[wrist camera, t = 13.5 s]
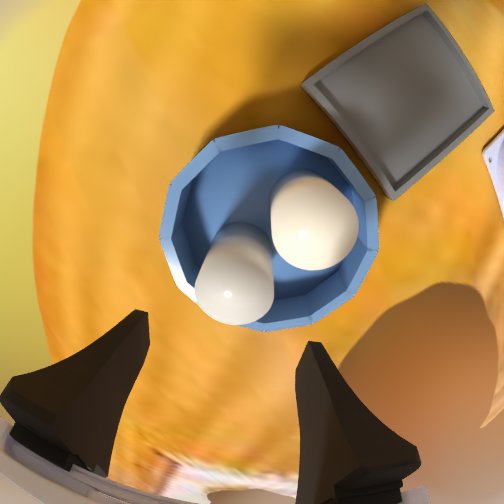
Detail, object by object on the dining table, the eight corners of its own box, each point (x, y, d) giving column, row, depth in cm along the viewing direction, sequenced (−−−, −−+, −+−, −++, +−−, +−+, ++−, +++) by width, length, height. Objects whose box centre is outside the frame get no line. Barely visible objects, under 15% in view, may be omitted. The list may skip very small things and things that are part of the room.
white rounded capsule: (343, 181, 18) (371, 203, 13) (321, 238, 20) (338, 278, 15) (280, 160, 17) (287, 174, 12) (261, 221, 19) (260, 257, 14)
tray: (485, 110, 15) (494, 110, 13) (386, 196, 19) (393, 201, 18) (418, 7, 12) (426, 3, 11) (299, 85, 16) (302, 83, 15)
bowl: (392, 233, 20) (411, 252, 17) (262, 327, 24) (261, 355, 21) (278, 87, 16) (281, 79, 13) (143, 218, 20) (123, 236, 17)
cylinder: (283, 241, 20) (289, 282, 15) (253, 286, 22) (249, 335, 17) (228, 211, 19) (215, 244, 14) (201, 260, 21) (183, 304, 16)
